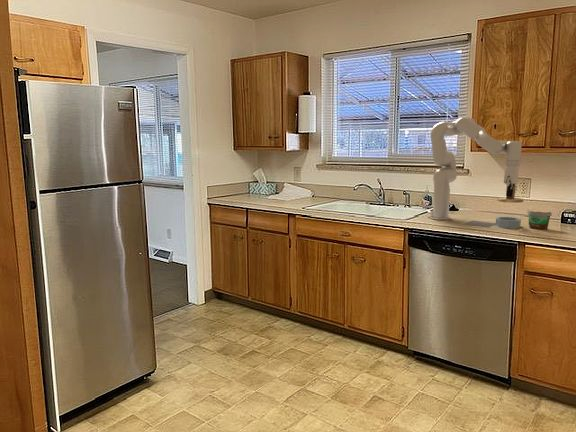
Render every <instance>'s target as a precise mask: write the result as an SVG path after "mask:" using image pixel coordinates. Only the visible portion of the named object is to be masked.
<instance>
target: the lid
mask: <svg viewBox="0 0 576 432" xmlns="http://www.w3.org/2000/svg"><path fill="white" fill-rule="evenodd" d="M512 189H513V193H512V197H511V196H506V195H505V196H503V197H501V196H500V197H497V198H496V200H497V201H498V202H503V203H513V204H514V203H523V202H524V199H523V198H520V197H515V196H516V186H512Z"/></svg>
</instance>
